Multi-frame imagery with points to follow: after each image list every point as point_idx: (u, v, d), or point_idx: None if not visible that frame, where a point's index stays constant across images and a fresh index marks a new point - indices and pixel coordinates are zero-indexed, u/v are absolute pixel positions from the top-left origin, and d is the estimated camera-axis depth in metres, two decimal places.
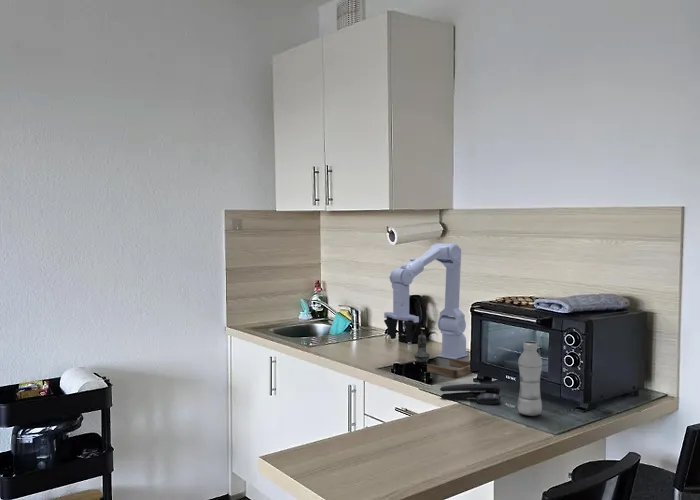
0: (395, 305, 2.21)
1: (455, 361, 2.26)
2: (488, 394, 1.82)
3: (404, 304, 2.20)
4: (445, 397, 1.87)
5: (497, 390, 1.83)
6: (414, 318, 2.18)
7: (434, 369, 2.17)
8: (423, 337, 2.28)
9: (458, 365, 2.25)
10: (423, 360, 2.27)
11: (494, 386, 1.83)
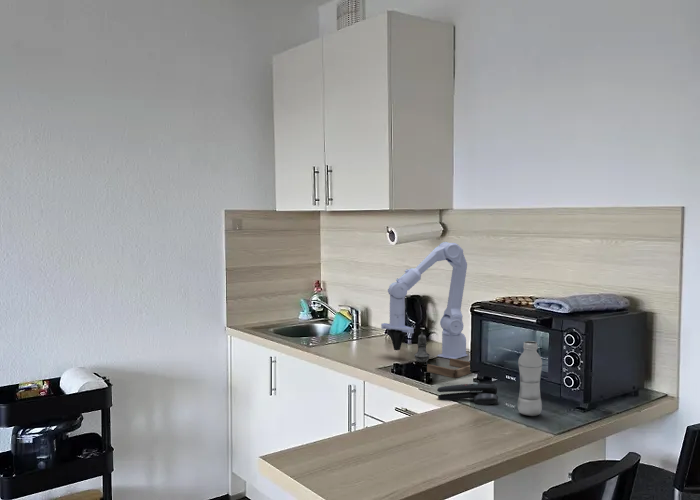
0: (391, 317, 2.36)
1: (455, 361, 2.26)
2: (486, 394, 1.82)
3: (400, 316, 2.35)
4: (442, 398, 1.86)
5: (494, 390, 1.83)
6: (409, 329, 2.32)
7: (434, 369, 2.17)
8: (423, 337, 2.28)
9: (458, 365, 2.25)
10: (423, 360, 2.27)
11: (491, 386, 1.83)
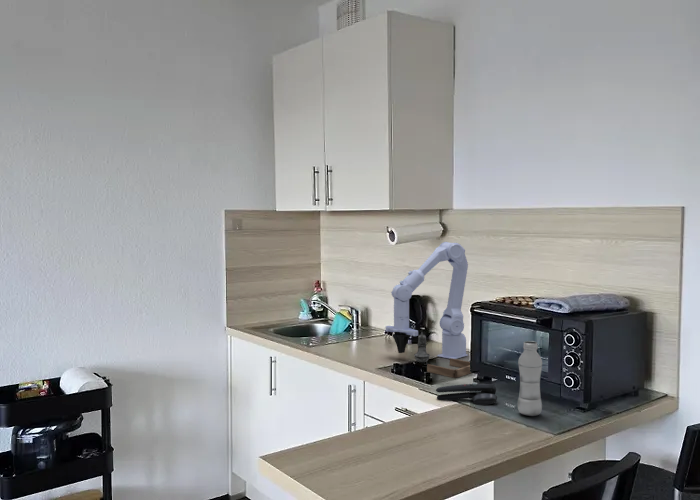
0: (396, 319, 2.34)
1: (455, 361, 2.26)
2: (485, 394, 1.82)
3: (404, 318, 2.33)
4: (441, 398, 1.86)
5: (493, 390, 1.83)
6: (413, 332, 2.31)
7: (434, 369, 2.17)
8: (423, 337, 2.28)
9: (458, 365, 2.25)
10: (423, 360, 2.27)
11: (490, 386, 1.83)
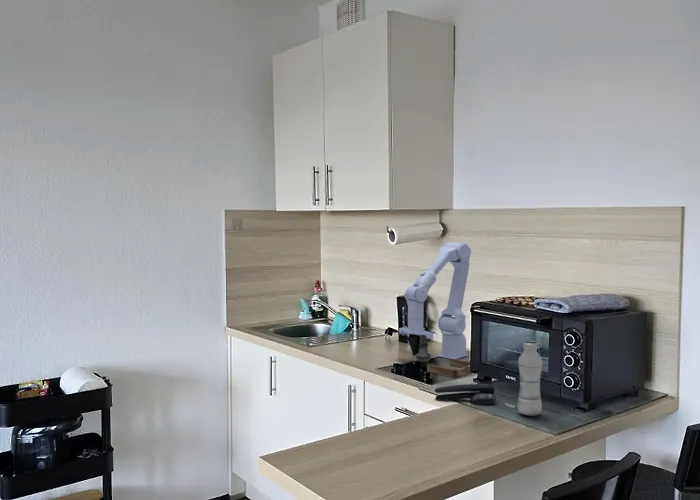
0: (410, 321, 2.29)
1: (455, 361, 2.26)
2: (483, 394, 1.82)
3: (418, 321, 2.28)
4: (440, 398, 1.86)
5: (492, 390, 1.83)
6: (428, 334, 2.26)
7: (434, 369, 2.17)
8: (425, 337, 2.27)
9: (458, 365, 2.25)
10: (424, 360, 2.27)
11: (489, 386, 1.83)
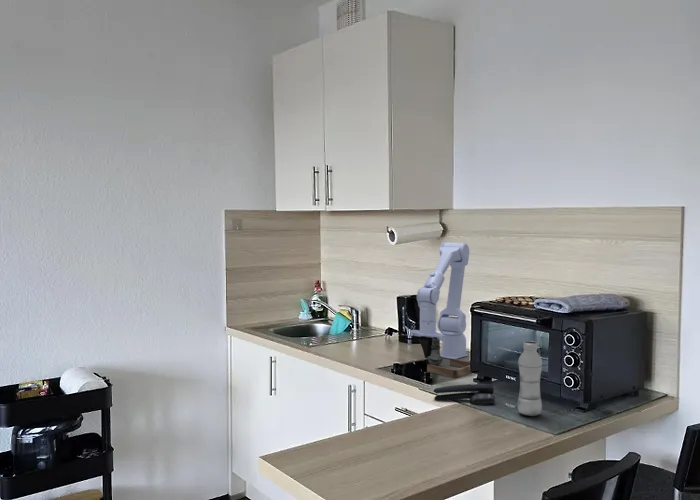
0: (422, 323, 2.25)
1: (455, 361, 2.26)
2: (483, 394, 1.82)
3: (431, 322, 2.24)
4: (439, 399, 1.85)
5: (491, 390, 1.83)
6: (441, 336, 2.22)
7: (434, 369, 2.17)
8: (437, 339, 2.23)
9: (458, 365, 2.25)
10: (436, 363, 2.23)
11: (488, 386, 1.83)
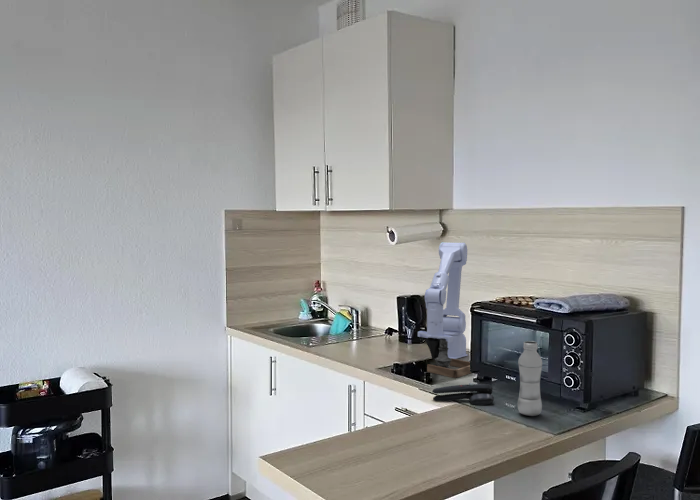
0: (429, 325, 2.23)
1: (455, 361, 2.26)
2: (481, 394, 1.82)
3: (438, 324, 2.22)
4: (438, 399, 1.85)
5: (490, 390, 1.83)
6: (449, 338, 2.19)
7: (434, 369, 2.17)
8: (445, 341, 2.21)
9: (458, 365, 2.25)
10: (444, 364, 2.20)
11: (487, 386, 1.83)
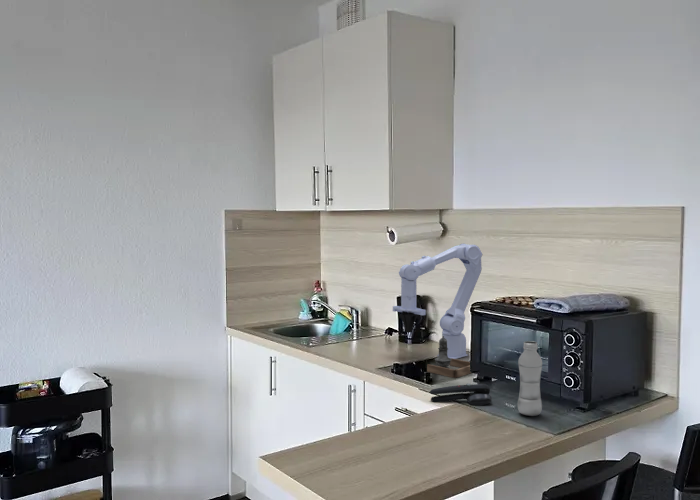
0: (403, 299, 2.35)
1: (455, 361, 2.26)
2: (479, 395, 1.82)
3: (412, 298, 2.34)
4: (435, 400, 1.84)
5: (487, 390, 1.83)
6: (421, 311, 2.31)
7: (434, 369, 2.17)
8: (444, 341, 2.21)
9: (458, 365, 2.25)
10: (444, 365, 2.20)
11: (484, 386, 1.83)
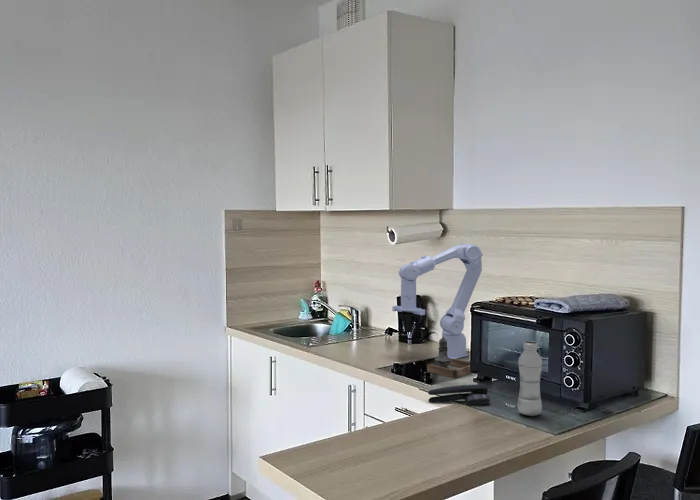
0: (403, 299, 2.35)
1: (455, 361, 2.26)
2: (477, 395, 1.82)
3: (411, 298, 2.34)
4: (434, 400, 1.83)
5: (485, 390, 1.83)
6: (421, 311, 2.32)
7: (434, 369, 2.17)
8: (444, 341, 2.21)
9: (458, 365, 2.25)
10: (444, 365, 2.20)
11: (482, 386, 1.83)
